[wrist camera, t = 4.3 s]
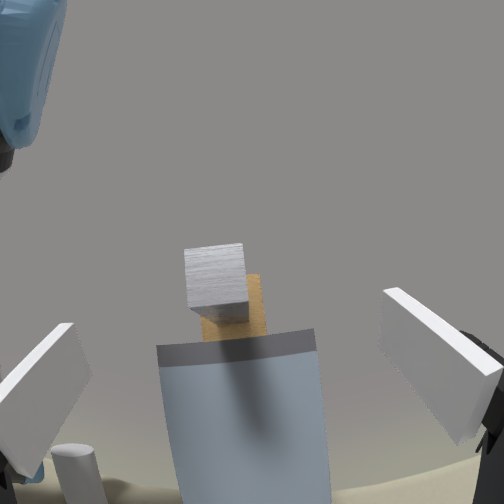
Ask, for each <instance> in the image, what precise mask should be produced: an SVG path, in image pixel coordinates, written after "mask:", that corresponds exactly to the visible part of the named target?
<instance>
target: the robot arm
mask: <svg viewBox="0 0 504 504" xmlns="http://www.w3.org/2000/svg"><path fill="white" fill-rule="evenodd" d="M66 7H67V0H0V180H1V179H2V178H3V177H4V176H5V175H6V174H7V173H8V172H9V171H10V170H11V166H12V160H13V155H14V150H15V149H21V148H23V147H27V146H30V145H31V144H32V143H33V141H34V140H35V137H36V135H37V132H38V129H39V125H40V120H41V115H42V110H43V107H44V104H45V100H46V96H47V92H48V88H49V83H50V79H51V74H52V70H53V66H54V62H55V57H56V53H57V49H58V45H59V41H60V36H61V32H62V28H63V24H64V19H65V13H66ZM378 347H379V348H380V349H381V351H382V352H383V353H384V354H385V356H386V357H387V358H388V359H389V360H390V362H391V363H392V364H393V365H394V366H395V368H396V369H397V370H398V371H399V373H400V374H401V375H402V376H403V378H404V379H405V380H406V381H407V382H408V384H409V385H410V386H411V387H412V389H413V390H414V391H415V392H416V394H417V395H418V396H419V397H420V399H421V400H422V401H423V403H424V404H425V405H426V406H427V408H428V409H429V410H430V411H431V413H432V414H433V415H434V416H435V418H436V419H437V420H438V422H439V423H440V424H441V425H442V427H443V428H444V429H445V431H446V432H447V433H448V435H449V436H450V437H451V438H452V440H453V441H454V443H455V444H456V445H457V446H458V445H460V444H462V443H464V442H466V441H468V440H469V439H471V438H473V437H475V436H476V433H477V431H478V429H479V427H480V425H481V423H482V424H483V425H484V426H485V427H486V428H487V430H486V432H485V433H484V435H483V437H482V439H481V441H480V443H479V445H478V447H477V449H476V453H478V451H479V450H480V448H481V447H482V454H481V461H480V468H479V474H478V479H477V485H476V490H475V494H474V499H473V503H472V504H504V358H503V357H501V356H500V355H499V354H497V353H496V352H495V351H493V350H492V349H489V347H488V346H487V345H486V344H484V343H482V342H481V341H480V340H479V339H477V338H476V337H474V336H473V335H471V334H468V333H466V332H464V331H457V330H456V329H455V328H453V327H452V326H450V325H449V324H448V323H447V322H445V321H444V320H443V319H441V318H440V317H439V316H437V315H436V314H434V313H433V312H432V311H430V310H429V309H428V308H426V307H425V306H423V305H422V304H420V303H419V302H418V301H416V300H415V299H414V298H412V297H411V296H409V295H408V294H407V293H405V292H404V291H402V290H401V289H399V288H398V287H397V288H391V289H386V290H382V306H381V322H380V334H379V345H378ZM91 377H92V373H91V370H90V367H89V365H88V362H87V360H86V357H85V354H84V351H83V349H82V346H81V343H80V340H79V337H78V334H77V331H76V328H75V325H74V323H61V324H59V325H58V326H57V327H56V328H55V329H54V330H53V331H52V332H51V333H50V334H49V335H48V336H47V337H46V338H45V339H44V340H43V341H42V342H41V343H40V344H39V345H38V346H37V347H36V348H35V349H34V350H33V351H31V353H30V354H28V356H27V357H26V358H25V359H24V360H23V361H22V362H21V363H20V364H19V365H18V366H17V367H16V368H15V369H14V370H13V371H12V372H11V373H10V374H9V375H8V376H7V377H6V378H5V379H3V375H2V371H1V366H0V504H17V501H16V497H15V493H14V489H13V485H12V483H20V484H23V485H25V484H27V483H40V482H41V481H42V480H43V479H44V466H43V459H44V457H45V455H46V453H47V451H48V450H49V448H50V446H51V444H52V442H53V440H54V439H55V437H56V435H57V434H58V432H59V430H60V428H61V427H62V425H63V423H64V422H65V420H66V418H67V416H68V415H69V413H70V411H71V410H72V408H73V406H74V405H75V403H76V401H77V400H78V398H79V397H80V395H81V393H82V392H83V390H84V388H85V387H86V385H87V384H88V382H89V380H90V379H91Z"/></svg>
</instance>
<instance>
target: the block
mask: <svg viewBox="0 0 504 504" xmlns="http://www.w3.org/2000/svg"><path fill="white" fill-rule="evenodd" d="M184 254H185V271H186V284H187V298H188V307H189V308H190V309H191V310H193V311H195V312H196V313H198V314H199V315H201V326H202V335H203V342H210V341H221V340H230V339H240V338H248V337H257V336H265V335H267V330H266V322H265V314H264V307H263V299H262V291H261V283H260V276H259V274H251V275H246V272H245V264H244V256H243V247H242V243H237V244H228V245H219V246H211V247H203V248H194V249H185V250H184Z"/></svg>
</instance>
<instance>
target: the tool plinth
mask: <svg viewBox="0 0 504 504" xmlns="http://www.w3.org/2000/svg"><path fill="white" fill-rule="evenodd" d="M157 356H158V364H159V374H160V382H161V390H162V397H163V404H164V411H165V417H166V423H167V429H168V435H169V441H170V446H171V452H172V457H173V462H174V467H175V471H176V476H177V480H178V485H179V489H180V493H181V498H182V502H183V504H332V501H331V485H330V471H329V459H328V447H327V437H326V427H325V417H324V407H323V400H322V399H323V398H322V390H321V381H320V373H319V365H318V358H317V350H316V342H315V335H314V329H307V330H301V331H294V332H287V333H280V334H272V335H265V336H257V337H248V338H240V339H230V340H221V341H210V342H200V343H186V344H172V345H157Z"/></svg>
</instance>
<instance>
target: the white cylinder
mask: <svg viewBox="0 0 504 504" xmlns="http://www.w3.org/2000/svg"><path fill="white" fill-rule="evenodd" d="M51 454H52V458H53V462H54V466H55V469H56V473H57V476H58V480H59V483H60V486H61V489H62V492H63V495H64V498H65V501H66V504H108V501H107V498H106V495H105V491H104V488H103V484H102V481H101V477H100V474H99V470H98V466H97V462H96V458H95V454H94V449H93V448H92V447H91V446H88V445H84V444H61V445H57V446H54V447H52V448H51Z"/></svg>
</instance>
